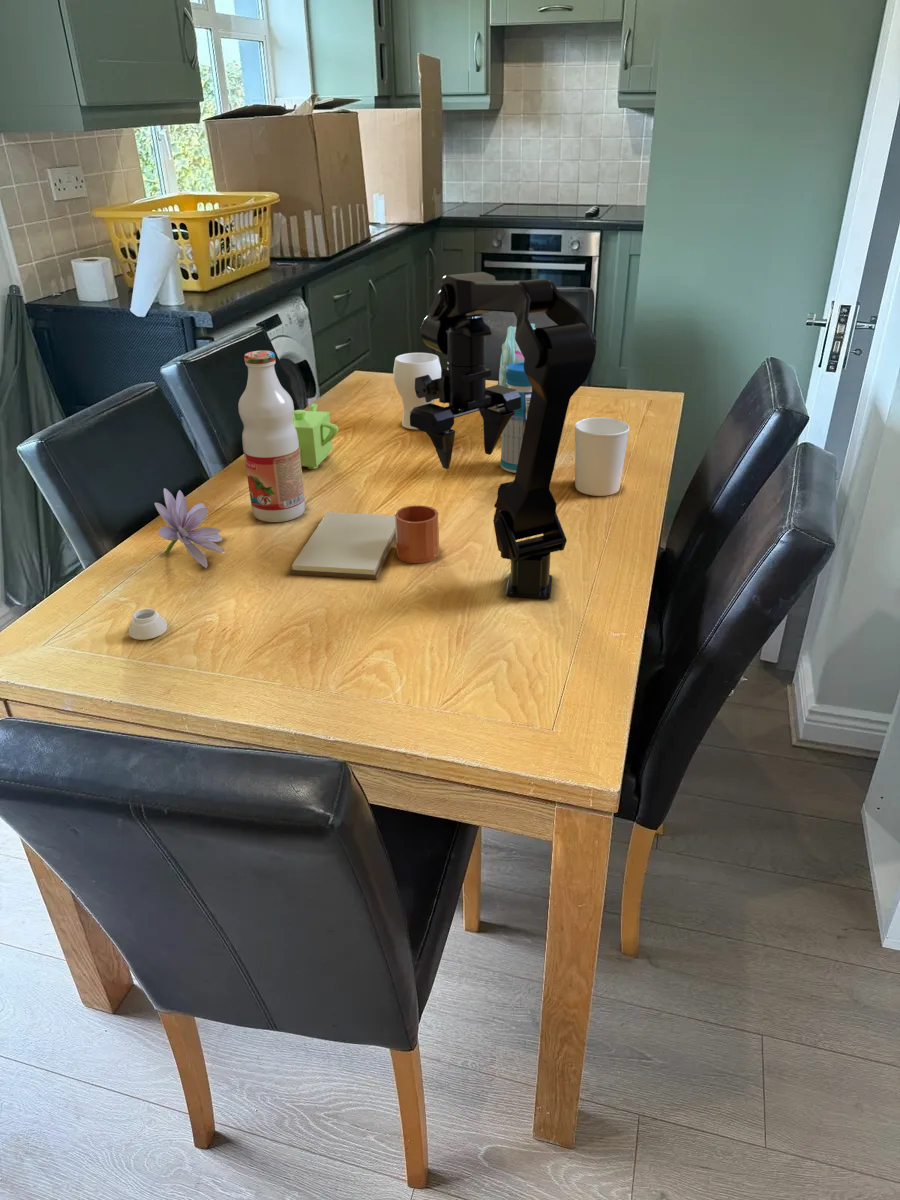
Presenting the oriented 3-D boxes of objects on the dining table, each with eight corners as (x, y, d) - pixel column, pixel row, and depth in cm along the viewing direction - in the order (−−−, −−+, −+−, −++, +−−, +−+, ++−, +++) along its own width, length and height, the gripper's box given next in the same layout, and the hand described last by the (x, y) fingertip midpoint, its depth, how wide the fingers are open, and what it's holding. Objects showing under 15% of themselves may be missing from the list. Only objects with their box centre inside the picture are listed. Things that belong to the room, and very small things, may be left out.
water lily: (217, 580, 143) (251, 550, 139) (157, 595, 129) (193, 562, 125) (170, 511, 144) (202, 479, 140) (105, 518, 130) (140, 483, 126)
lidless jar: (156, 618, 119) (123, 632, 116) (152, 600, 117) (118, 614, 114) (174, 632, 116) (140, 646, 113) (170, 613, 114) (135, 627, 111)
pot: (435, 564, 132) (434, 523, 129) (393, 562, 133) (391, 521, 129) (441, 545, 138) (441, 506, 134) (401, 543, 139) (399, 504, 135)
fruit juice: (308, 520, 147) (291, 358, 133) (254, 526, 145) (230, 363, 131) (303, 499, 155) (286, 344, 141) (251, 505, 153) (228, 349, 139)
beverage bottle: (496, 473, 165) (497, 371, 155) (504, 458, 172) (505, 359, 162) (538, 476, 163) (543, 373, 153) (545, 461, 170) (549, 361, 160)
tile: (376, 579, 128) (375, 570, 127) (290, 574, 130) (289, 565, 129) (403, 522, 146) (402, 514, 145) (326, 519, 148) (326, 511, 147)
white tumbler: (588, 474, 164) (592, 413, 158) (633, 485, 159) (639, 424, 153) (560, 489, 157) (564, 427, 151) (606, 502, 152) (612, 438, 146)
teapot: (287, 480, 163) (281, 427, 158) (255, 461, 173) (248, 411, 167) (354, 462, 171) (350, 410, 166) (320, 445, 181) (315, 396, 175)
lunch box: (497, 408, 201) (498, 315, 190) (540, 408, 201) (544, 315, 190) (498, 446, 178) (499, 343, 167) (547, 446, 178) (551, 343, 167)
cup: (388, 421, 194) (385, 355, 186) (431, 414, 198) (429, 349, 190) (406, 434, 186) (403, 366, 178) (450, 427, 189) (449, 360, 182)
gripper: (475, 343, 137) (475, 435, 145) (384, 364, 126) (389, 462, 134) (524, 354, 130) (522, 451, 137) (433, 378, 119) (435, 481, 127)
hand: (467, 461), depth 134 cm, fingers open, 9 cm apart
